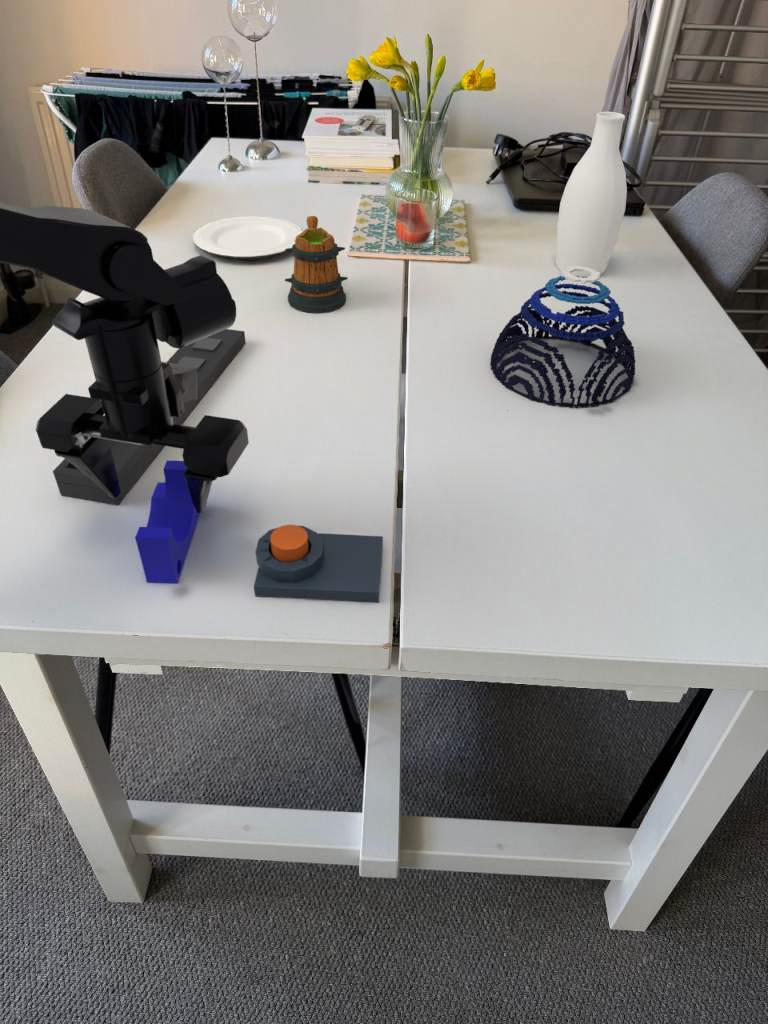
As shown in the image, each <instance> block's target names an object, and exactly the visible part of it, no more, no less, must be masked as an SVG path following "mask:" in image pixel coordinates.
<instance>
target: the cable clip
mask: <svg viewBox="0 0 768 1024" xmlns="http://www.w3.org/2000/svg"><path fill="white" fill-rule="evenodd" d="M186 470H187V467H186V466H185V465H184V461H183V460H166V461H165V465H164V467H163V475H164V482H162V481H161V482H159V481H157V483H156V486H155V488H154V491H153V493H152V495H151V498H150V508H149V515H148V521H147V523H146V526H139V527H138V529H137V532H136V534H135V537H134V538H135V542H136V546H137V549H138V554H139V557H140V561H141V564H142V568H143V572H144V573H143V574H144V576H145V580H146V583H154V584H178V583H179V581H180V577H181V575H182V571H183V569H184V565H185V562H186V559H187V557H188V553H189V550H190V547H191V543H192V540H193V538H194V534H195V531H196V528H197V525H198V522H199V520H200V516H201V514H200V513H197V511H196V509H195V507H194V505H193V502H192V499H191V496H190V493H189V490H188V486H187V483H186V480H185V477H184V473H185V471H186Z"/></svg>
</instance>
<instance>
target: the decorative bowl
mask: <svg viewBox="0 0 768 1024" xmlns="http://www.w3.org/2000/svg"><path fill="white" fill-rule="evenodd" d="M574 271H583V272H586V273H588V274H590V276H589V277H586V276H585V277H583V276H582V277H580V276H574V275H573V274H571V272H574ZM559 274H560V276H557V277H552V278H550V279H549V280H548V281H547V282H546V284H545V286H544V287H542V288H539V289H537V290H536V291H534V292H533V294H531V296H530V298H528V299H527V300H526V301H524V303H523V305H521V307H520V311H519V312H518V313H517V314H515V315H513V316H512V317H511V318H510V319H509V321H508V322H507V323H506V325H504V328H503V329H502V330H501V332H499V335H498V337H497V339H496V340H495V342H494V346H493V349H492V352H491V355H490V363H489V366H490V370H491V371H492V374H493V375H494V378H496V380H497V381H499V383H501V385H502V386H504V387H505V388H506V389H507V390H510V391H511V392H515V393H516V394H518V395H520V396H522V397H523V398H526V399H528V400H530V401H532V402H534V401H535V402H537V403H544V404H546V405H548V406H553V407H555V406H558V407H560V408H562V407H563V408H567V407H568V408H569V409H572V408H576V409H578V408H583V409H584V408H588V407H592V408H594V407H599V406H601V405H608V404H612V403H614V402H615V401H617V400H618V399H620V398H621V397H623V396H624V395H625V394H628V392H630V391H631V389H632V385H633V383H634V379H635V375H636V361H637V360H636V356H635V349H634V348H635V346H633V343H632V340H630V339H629V337H628V335H627V333H626V332H625V329H624V325H625V324H626V322H625V321H624V320H625V319H624V316H625V314H624V311H622V310H620V309H621V307H619V303H617V301H616V300H615V299H614V298H613V297H611V296H610V294H611V292H612V291H611V289H610V288H609V287H608V286H607V285H604V284H603V283H602V282H601V281H599V280H600V278H601V276H602V274H600V273H599V272H597V271H596V270H594V269H591V268H588V267H582V266H575V265H574V266H572V267H570V266H569V267H567V268H564V269H562V271H559ZM566 280H568V281H571V282H573V283H562V284H561V283H559V282H562V281H566ZM558 283H559V284H558ZM574 283H581V284H574ZM587 283H591V284H592V285H595V286H597V287H598V288H599V289H598V288H597V287H592V286H591V285H590V286H589V285H588V286H587V285H584V284H587ZM582 284H583V285H582ZM561 289H564V290H562V291H561ZM569 289H571V290H575V291H567V290H569ZM576 290H577V291H576ZM578 290H580V291H585V292H588V293H592V294H593V295H589V294H587V293H582V292H578ZM551 297H553V298H555V299H556V300H558V301H560V302H566V303H572V304H577V305H575V306H574V307H571V308H570V309H568V310H566V311H565V312H563V313H562V312H560V311H556V312H555V313H554V312H552V308H550V307H548V306H547V305H545V304H544V303H542V299H543V298H545V299H546V298H551ZM606 300H607V301H608V302H607V301H606ZM595 303H596V304H601V305H602V306H603V305H604V306H603V307H606V308H607V309H608V310H607V312H606V311H603V310H601V309H598V308H596V307H593V306H588V305H590V304H592V305H594V304H595ZM581 304H582V305H581ZM578 305H580V306H578ZM584 305H585V306H584ZM617 318H618V319H617ZM617 320H618V321H617ZM553 322H554V323H553ZM520 325H521V326H520ZM551 325H552V326H551ZM561 326H562V327H561ZM578 326H579V327H578ZM589 327H591V328H589ZM529 328H531V336H530V333H529V331H530V329H529ZM569 328H570V329H569ZM523 329H524V330H523ZM575 329H577V330H575ZM536 330H537V331H536ZM574 330H575V331H574ZM584 330H585V331H584ZM535 331H536V332H535ZM583 331H584V332H583ZM524 332H525V333H524ZM542 339H544V340H542ZM549 339H550V340H560V341H564V340H565V341H569V342H573V343H574V342H575V343H581V344H583V345H585V346H587V347H592V348H595V349H597V350H599V351H597V357H596V358H595V360H593V362H592V363H591V365H590V367H589V368H588V370H586V373H585V375H583V378H584V379H582V380H581V384H579V386H578V390H577V391H578V392H579V393H578V396H577V397H575V396H574V393H575V391H576V388H575V384H576V383H574V380H575V379H573V377H574V375H573V374H572V372H571V370H570V367H568V364H567V362H566V360H565V359H566V356H564V353H559V352H560V350H559V348H558V347H557V346H552V345H549V342H547V341H545V340H549ZM597 340H600V341H602V343H603V345H604V347H603V346H601V345H599V344H597V343H594V342H596V341H597ZM525 341H529V342H531V343H532V344H535V345H538V346H540V347H542V348H543V350H545V351H546V352H544V351H541V350H539V349H537V348H535V347H532V346H530V345H528V343H526V342H525ZM517 350H519V351H517ZM523 350H524V351H525V352H527V353H530V354H532V355H535V356H536V357H539V358H543V361H544V362H543V361H542V360H540V359H537V358H532V357H530V356H529V355H528V354H525V353H524V352H522V351H523ZM515 351H517V352H515ZM514 352H515V353H514ZM551 352H552V353H553V354H552V353H551ZM511 353H514V354H512V355H510V354H511ZM605 354H606V355H605ZM506 355H510V356H509V357H507V358H505V356H506ZM553 356H554V359H556V360H557V362H559V363H560V364H559V365H561V368H557V367H556V365H557V363H555V362H554V361H553ZM504 358H505V359H504ZM613 358H614V360H613ZM598 361H600V362H599V364H598V366H597V365H596V364H597V363H598ZM500 362H501V363H500ZM612 362H613V363H612ZM499 363H500V364H499ZM516 363H519V364H517V365H515V364H516ZM498 364H499V365H498ZM512 364H513V365H512ZM510 365H512V366H510ZM524 365H528V366H530V367H529V368H528V367H525V366H524ZM607 365H610V366H608V367H607V368H606V370H605V372H603V373H602V375H601V377H600V378H599V380H598V379H597V378H598V376H599V375H600V373H601V372H602V370H604V368H605V367H606V366H607ZM619 365H621V366H623V369H621V370H620V371H619V372H617V373H616V375H615V376H614V377H613V378H612V379H611V381H609V384H608V381H607V380H608V378H609V377H610V375H612V373H613V372H614V371H615V370H616V368H619ZM508 366H510V367H508ZM507 367H508V368H507ZM505 368H507V369H505ZM548 368H550V370H551V373H553V374H552V375H553V376H555V383H558V385H557V386H558V388H559V389H558V394H559V397H558V399H559V400H560V401H559V402H558V401H557V400H556V399H555V398H556V393H555V389H554V385H553V382H552V380H551V379H550V377H549V375H548V374H549V370H548ZM518 370H519V371H521V372H524V373H526V374H528V375H530V378H532V379H533V381H534V384H537V389H538V393H539V397H537V396H536V395H535V390H534V386H533V384H532V383H531V382H530V380H528V379H526V378H523V377H522V376H520V375H517V374H513V375H511V376H509V375H510V374H511V373H514V372H516V371H518ZM533 370H534V371H536V372H537V374H538V375H539V376H537V374H536V373H535V372H534V371H533ZM561 370H563V372H564V373H565V375H564V377H565V378H566V380H567V382H568V383H569V384H568V387H566V385H565V383H564V378H563V376H562V373H560V371H561ZM595 370H596V371H595ZM623 375H626V376H627V377H626V378H625V379H623V380H621V381H620V382H618V384H617V385H616V386H615V388H614V389H613V392H612V393H611V396H610V397H609V398H608V399H607V397H608V395H609V393H610V391H611V389H612V387H613V386H614V384H615V383H616V381H618V379H619V378H620V377H621V376H623ZM508 376H509V377H508ZM540 378H541V379H540ZM541 380H543V383H544V385H545V387H544V386H543V384H542V382H541ZM595 383H597V384H596V386H595V388H594V389H593V392H591V390H592V388H593V387H594V386H593V385H594V384H595ZM518 384H520V385H521V386H523V388H524V390H525V393H524V392H522V391H520V390H518V389H517V388H514V387H515V386H517V385H518ZM585 384H586V386H585V387H584V385H585ZM607 385H608V386H607ZM583 387H584V388H583ZM566 388H568V389H569V391H568V390H567V389H566ZM622 388H623V389H622ZM544 389H545V390H544ZM621 389H622V391H621ZM584 390H585V391H586V392H585V397H586V399H585V402H581V400H582V397H583V396H582V395H583V392H584ZM567 391H568V392H569V393H570V395H569V399H571V402H570V401H569V402H565V401H564V400H565V396H566V395H567ZM620 391H621V392H620ZM526 393H527V394H526ZM545 393H546V394H547V400H546V399H544V398H545ZM590 397H591V399H590ZM599 398H602V399H601V401H600V400H599ZM576 400H577V401H576ZM575 401H576V404H575ZM590 401H591V402H590ZM589 402H590V403H589Z"/></svg>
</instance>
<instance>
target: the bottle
mask: <svg viewBox="0 0 768 1024" xmlns="http://www.w3.org/2000/svg"><path fill="white" fill-rule="evenodd" d="M625 119H626V115H625V114H623V113H620V112H615V111H601V112H600V111H599V112H597V113H596V122H595V126H594V130H593V134H592V139H591V142H590V146H589V147H588V148H587V150H586V152H584V154H583V156H582V157H581V158H580V160H579V161H578V162H577V164H576V165H575V166H574V168H573V169H572V172H571V174H570V176H569V178H568V180H567V182H566V185H565V187H564V191H563V193H562V196H561V199H560V203H559V211H558V217H557V224H556V225H557V226H556V233H555V260H554V261H555V262H554V263H555V266H556V268H557V269H558V270H559V272H561V271H562V269H564V268H567V267H569V266H570V267H572V266H574V265H575V266H582V267H588V268H591V269H594V270H596V271H597V272H599V273H600V274H601V275H602V274H603V273H604V272H605V271H606V269H607V267H608V264H609V262H610V259H611V256H612V255H613V252H614V248H615V247H616V244H617V241H618V237H619V234H620V231H621V227H622V223H623V219H624V216H625V212H626V207H627V206H626V205H627V196H628V195H627V194H628V189H627V188H628V187H627V173H626V169H625V165H624V162H623V159H622V155H621V151H620V144H621V137H622V132H623V125H624V121H625ZM571 274H573V275H574V276H580V277H582V276H583V277H585V276H586V277H589V276H590V274H588V273H586V272H583V271H574V272H571Z"/></svg>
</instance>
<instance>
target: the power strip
mask: <svg viewBox="0 0 768 1024" xmlns="http://www.w3.org/2000/svg"><path fill="white" fill-rule="evenodd" d="M245 345H246V335H245V331H244V330H237V329H230V328H227V329H225V330H223V331H220V332H218V333H215V334H213V335H211V336H208V337H206V338H204V339H201V340H199V341H196V342H194V343H192V344H189V345H187V346H185V347H182V348H177V350H176V351H175V352H174V353H173V354H172V355H171V357H170V358H169V359H168V360H167V361H166V362H167V363H174V364H181V365H188V366H194V367H196V368H197V399H196V400H189V401H187V402H185V403H183V404H184V410H185V411H184V412H183V413H182V415H181V416H180V417H174V418H173V424H176V425H183V424H184V422H185V421H186V420H187V418H188V417H189V416H190V415H191V413H192V412H193V411H194V410H195V408H196V407H197V406H198V405H199V403H200V402H201V400H202V399H203V398H204V397H205V396H206V394H207V393H208V391H209V390H210V389H211V388H212V387H213V385H214V384H215V383H216V381H217V380H218V379H219V378H220V376H221V375H222V374H223V373H224V372H225V370H226V369H227V367H228V366H230V364H231V363H232V361H233V360H234V358H236V356H237V355H238V354H239V353H240V351H241V350H242V348H243V347H244V346H245ZM110 447H111V451H112V455H113V458H114V462H115V466H116V470H117V473H118V477H119V482H120V489H121V494H120V495H119V496H118V498H117V499H114V498H112V497H110V496H109V495H108V494H107V493H106V492H105V491H104V490H103V489H101V488H100V487H99V486H98V485H97V484H96V483H95V482H94V481H92V480H91V479H90V478H89V477H88V476H87V475H85V474H84V473H83V472H82V471H80V470H79V469H78V468H77V467H75V466H74V465H73V464H71V463H70V462H69V461H67V460H66V459H65V458H63V460H62V461H61V462H60V463H59V464H57V466H56V467H55V468H54V469H53V470H52V473H53V476H54V479H55V482H56V485H57V488H58V491H59V494H60V496H63V497H69V498H76V499H81V500H87V501H93V502H99V503H103V504H110V505H115V506H119V505H120V504H121V502H122V501H123V500H124V499H125V497H126V496H127V494H129V492H130V491H131V489H132V488H133V487H134V486H135V485H136V484H137V482H138V481H139V479H141V477H142V476H143V474H144V473H145V472H146V470H147V469H148V468H149V467H150V466H151V464H152V463H153V462H154V460H155V459H156V458H157V457H158V455H159V453H161V452H162V450H163V449H164V448H165V446H163V445H156V444H152V445H138V444H132V443H126V442H119V441H113V440H110Z"/></svg>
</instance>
